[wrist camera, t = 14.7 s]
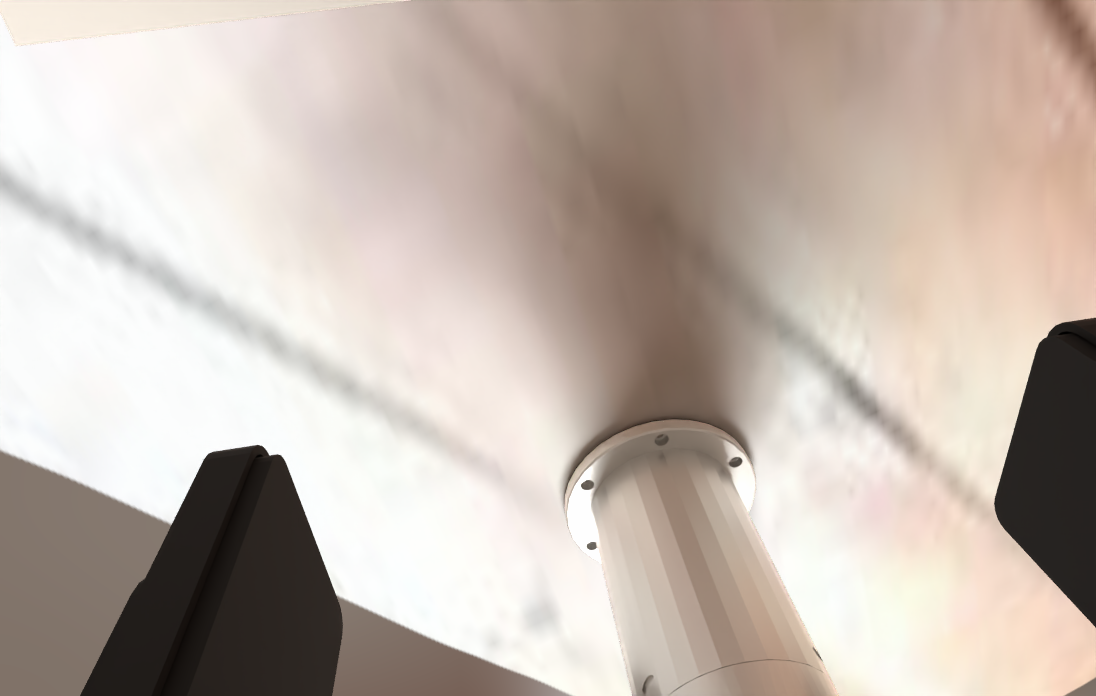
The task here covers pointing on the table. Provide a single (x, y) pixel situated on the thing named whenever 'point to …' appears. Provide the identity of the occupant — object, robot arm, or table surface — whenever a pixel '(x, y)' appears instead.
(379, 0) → the tray
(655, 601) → the robot arm
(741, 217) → the table surface
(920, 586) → the table surface
